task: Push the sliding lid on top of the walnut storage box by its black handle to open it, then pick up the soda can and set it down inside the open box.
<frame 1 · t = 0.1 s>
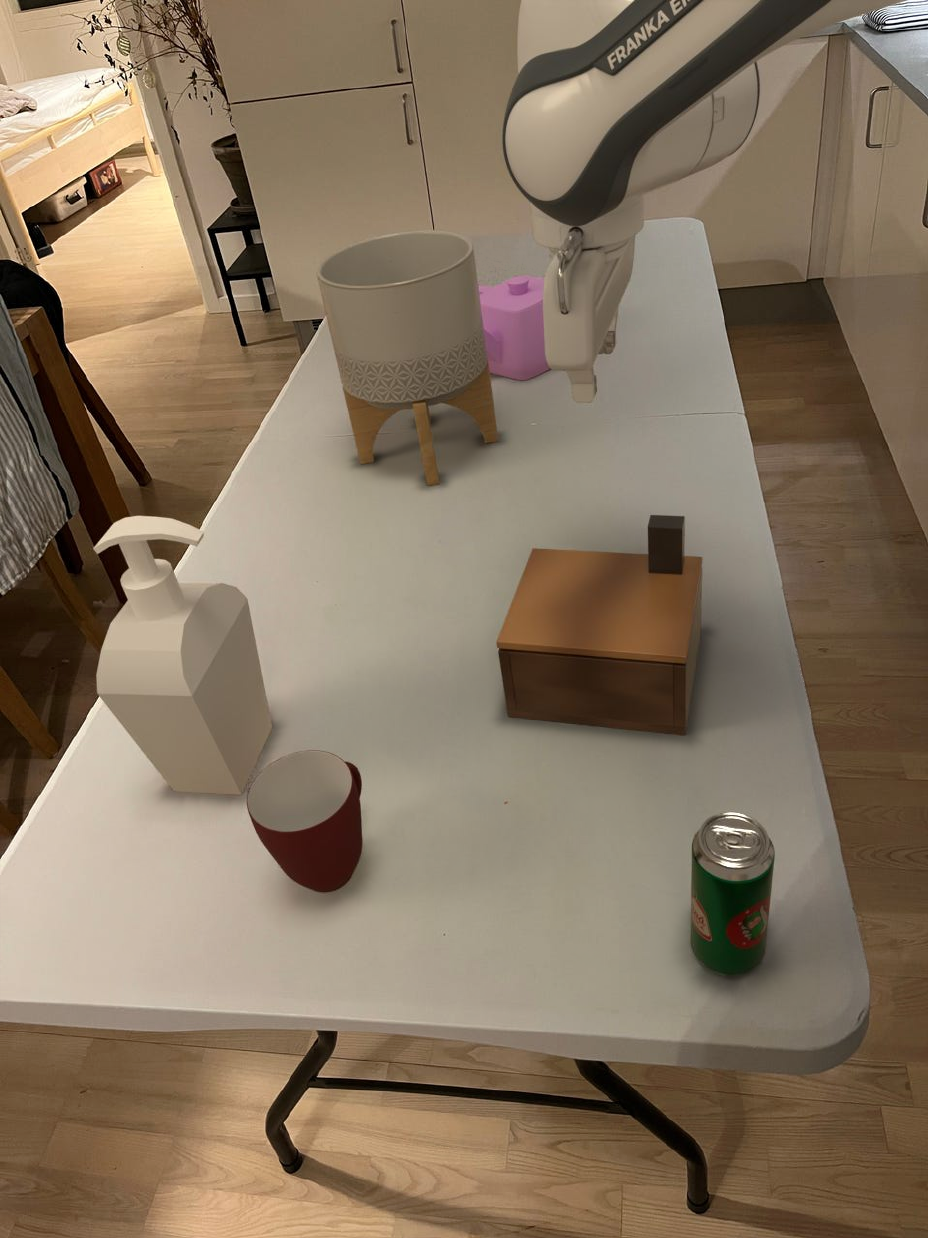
hand: (595, 373, 84), 25 cm above the table, tool pointing down, fingers open, 8 cm apart
sliding lid: (601, 578, 84), point 11 cm above the table, slide at 0.0 cm
soda can: (727, 948, 68), on the table
soap bottle: (233, 760, 89), on the table
storage box: (607, 673, 91), on the table
teakettle: (526, 360, 149), on the table
mug: (335, 861, 79), on the table
planter: (429, 451, 131), on the table
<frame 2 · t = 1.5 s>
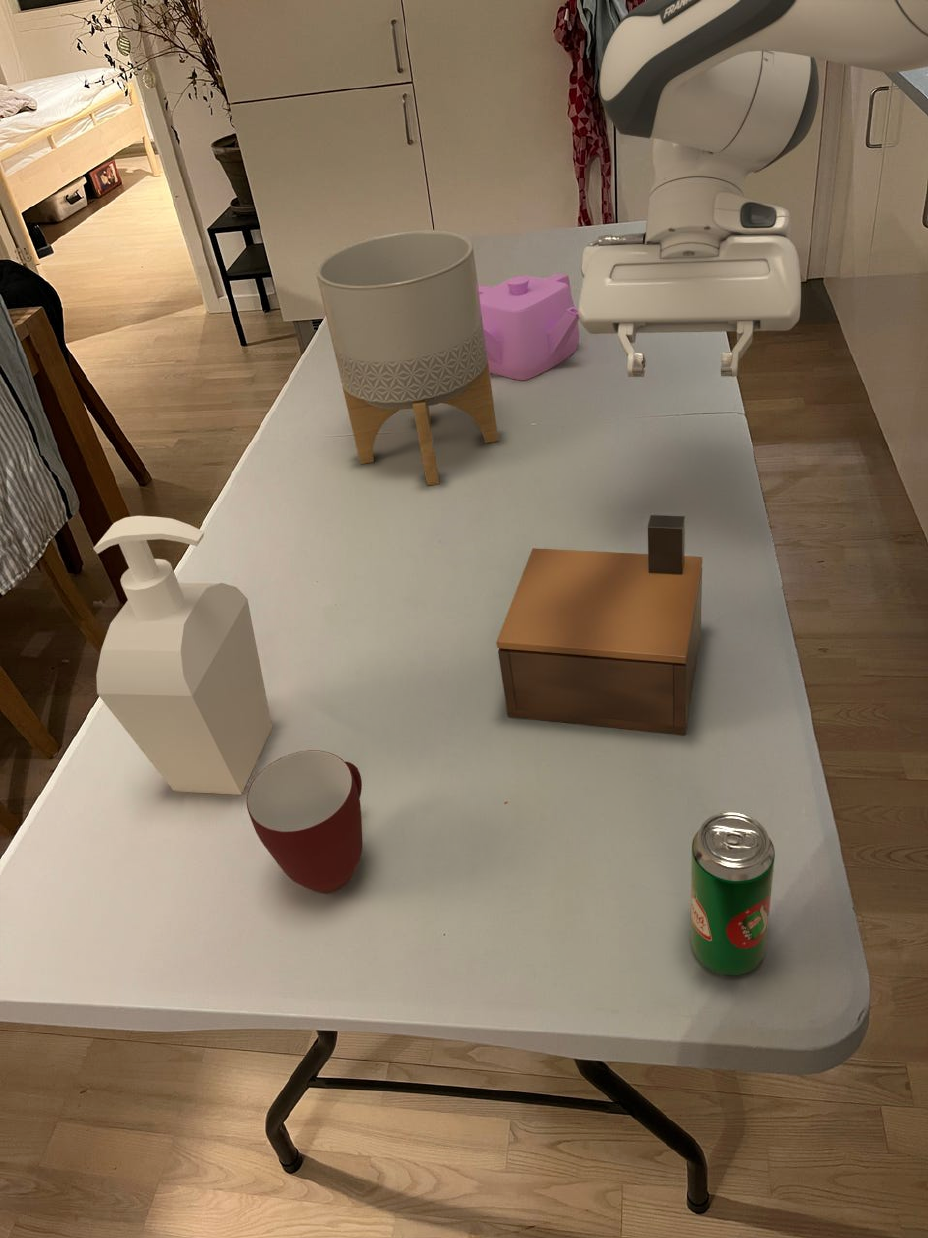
hand: (681, 374, 90), 22 cm above the table, tool tilted 45°, fingers open, 7 cm apart
nothing on the table moved.
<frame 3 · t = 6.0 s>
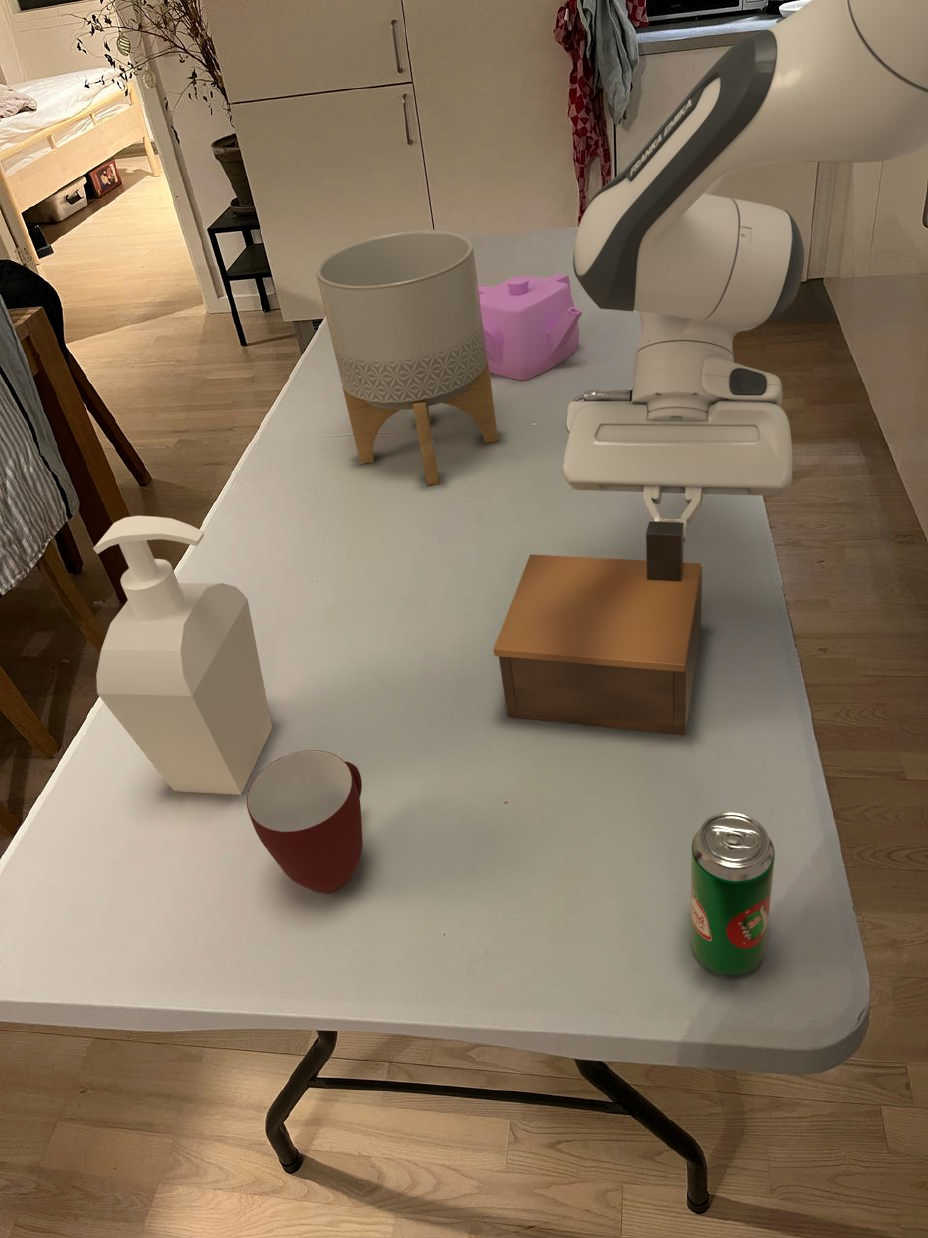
hand: (669, 540, 87), 12 cm above the table, tool tilted 45°, fingers closed, pressing on sliding lid
sliding lid: (599, 585, 84), point 11 cm above the table, slide at 1.0 cm, touching gripper
everything else where it was.
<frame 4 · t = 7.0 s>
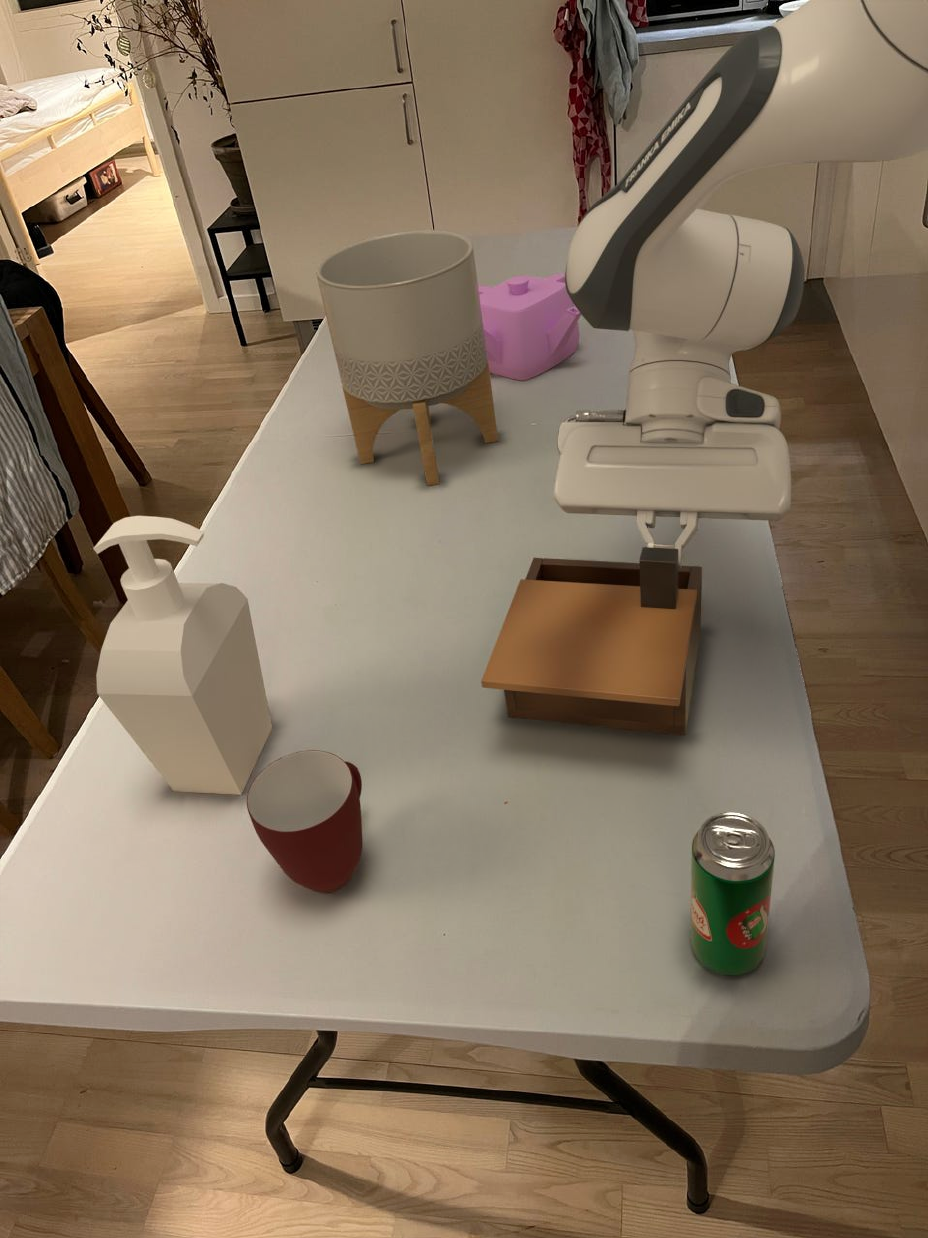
hand: (663, 566, 84), 12 cm above the table, tool tilted 45°, fingers closed, pressing on sliding lid
sliding lid: (591, 614, 81), point 11 cm above the table, slide at 5.0 cm, touching gripper
everything else where it was.
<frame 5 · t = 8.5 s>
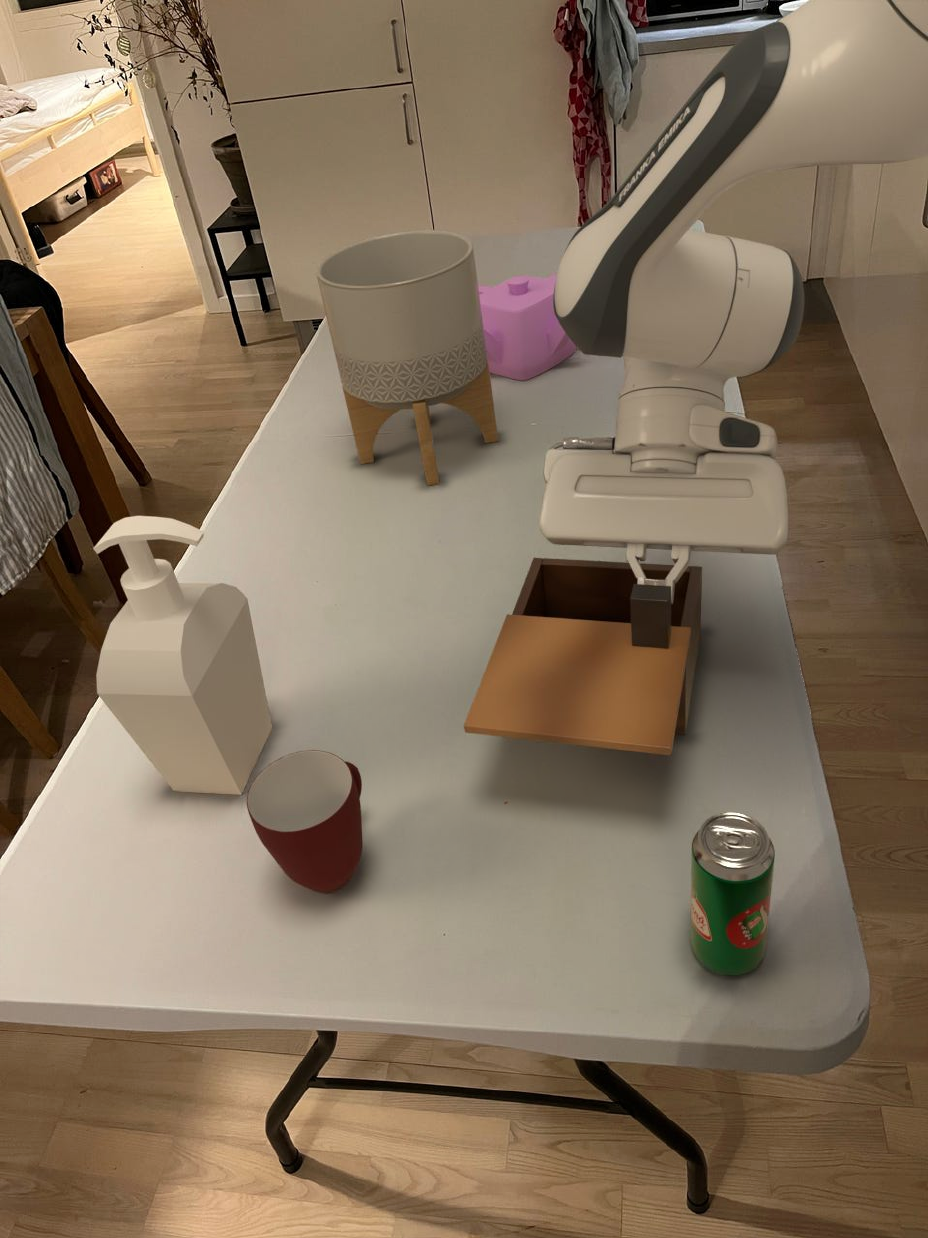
hand: (654, 602, 80), 12 cm above the table, tool tilted 45°, fingers closed, pressing on sliding lid
sliding lid: (579, 655, 77), point 11 cm above the table, slide at 10.2 cm, touching gripper
everything else where it was.
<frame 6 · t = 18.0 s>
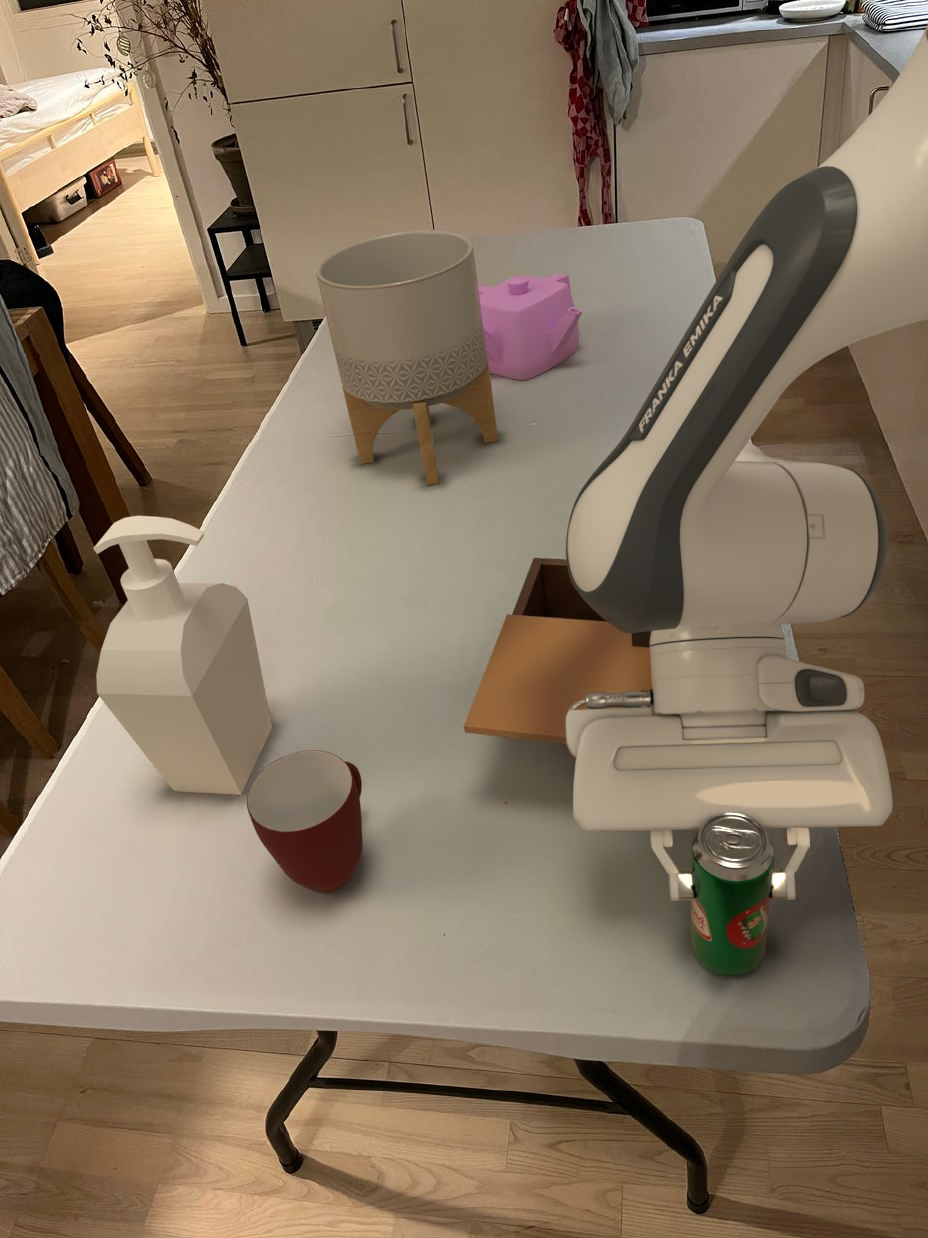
hand: (732, 899, 63), 7 cm above the table, tool tilted 45°, fingers closed on soda can, 5 cm apart
sliding lid: (579, 655, 77), point 11 cm above the table, slide at 10.2 cm
soda can: (727, 948, 68), on the table, touching gripper
everything else where it was.
when the fingers open (8 cm above the table, at t = 30.5 s): soda can stays where it is, resting on storage box.
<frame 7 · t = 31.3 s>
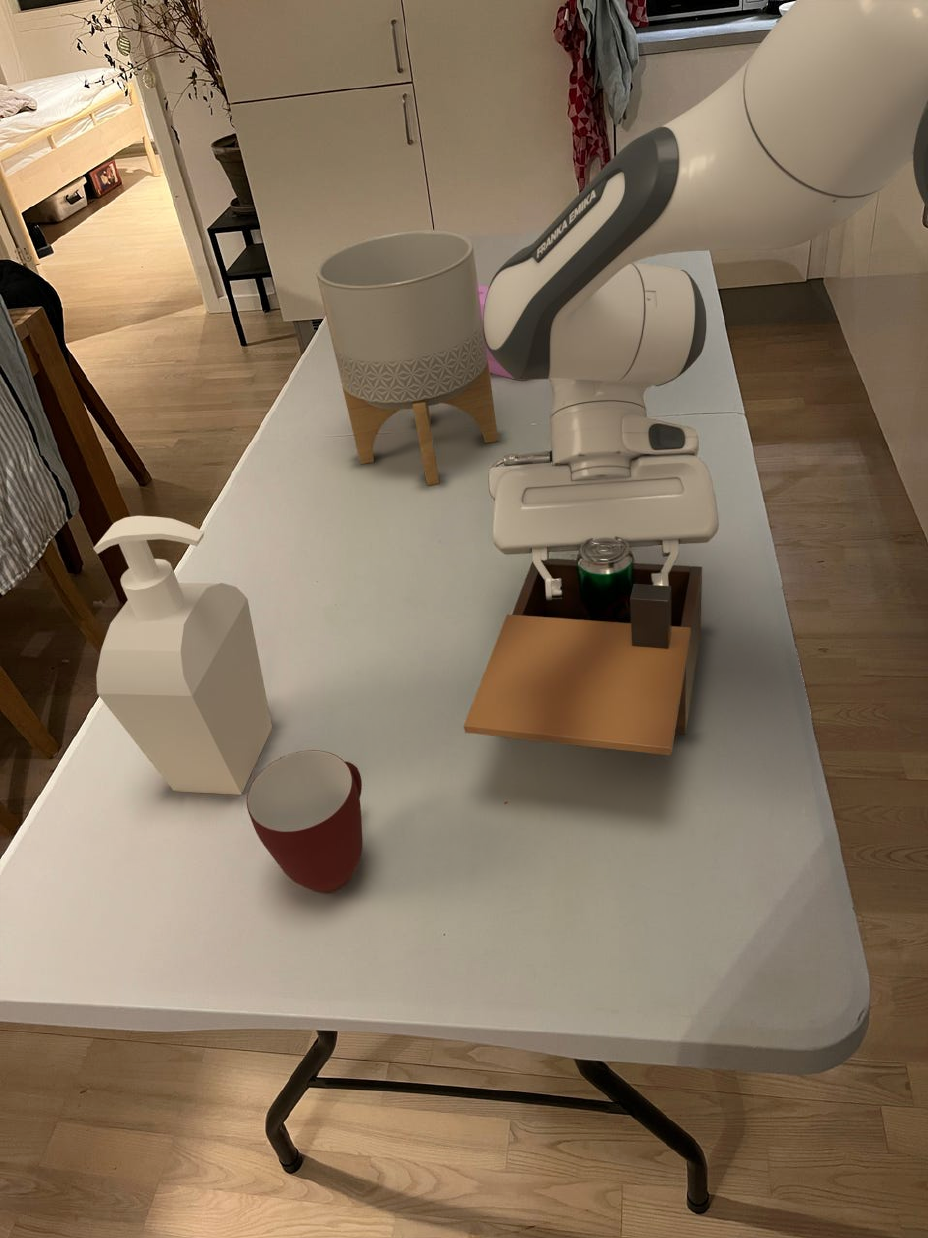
hand: (607, 596, 87), 8 cm above the table, tool tilted 45°, fingers open, 8 cm apart
soda can: (610, 653, 92), point 1 cm above the table, touching storage box
everything else where it was.
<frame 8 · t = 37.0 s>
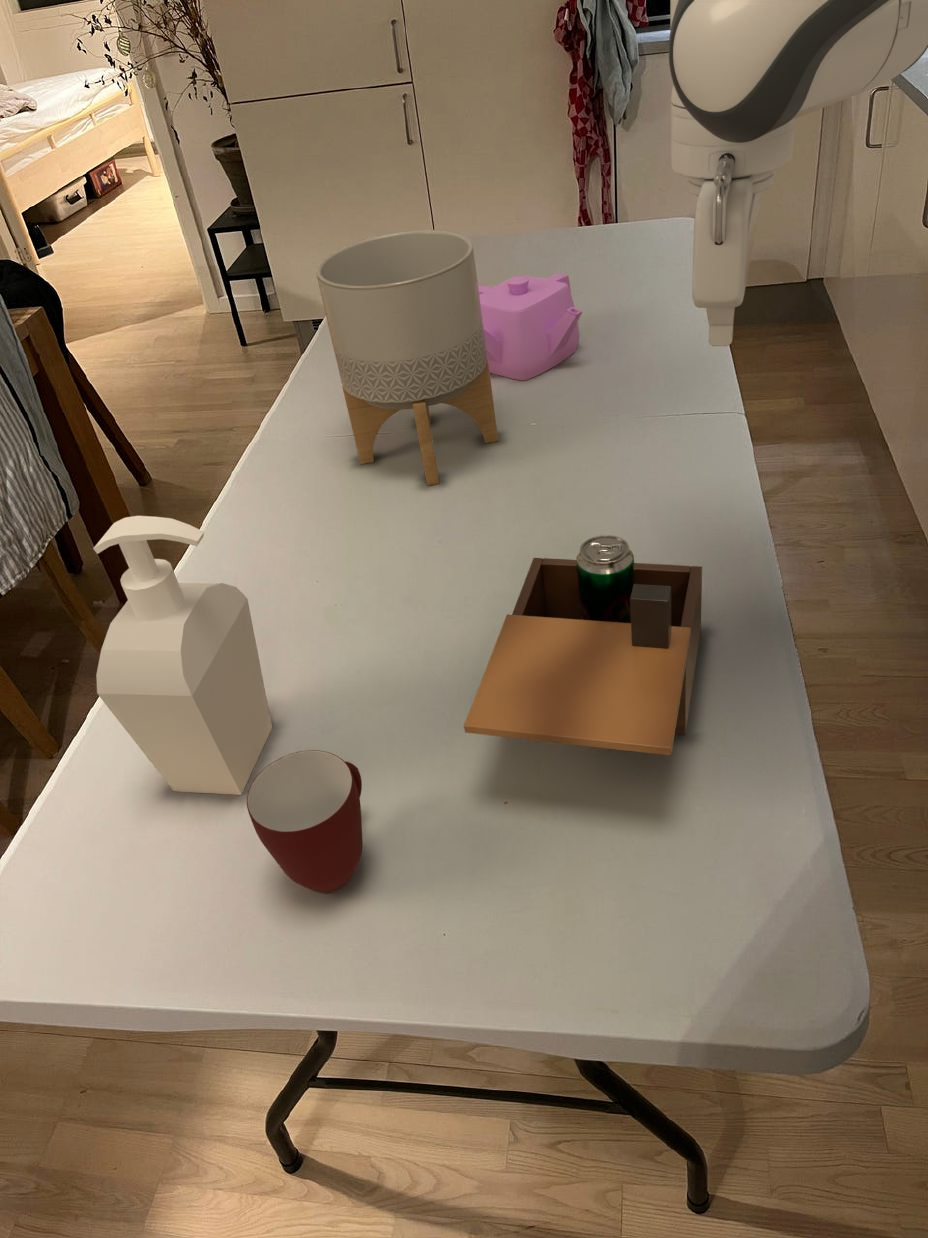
hand: (725, 318, 80), 29 cm above the table, tool pointing down, fingers open, 8 cm apart
nothing on the table moved.
at the end: sliding lid slide at 10.2 cm; soda can inside the target area on the storage box (2.0 cm from its centre), point 0.8 cm above the storage box's base; soda can tilted 0° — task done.
